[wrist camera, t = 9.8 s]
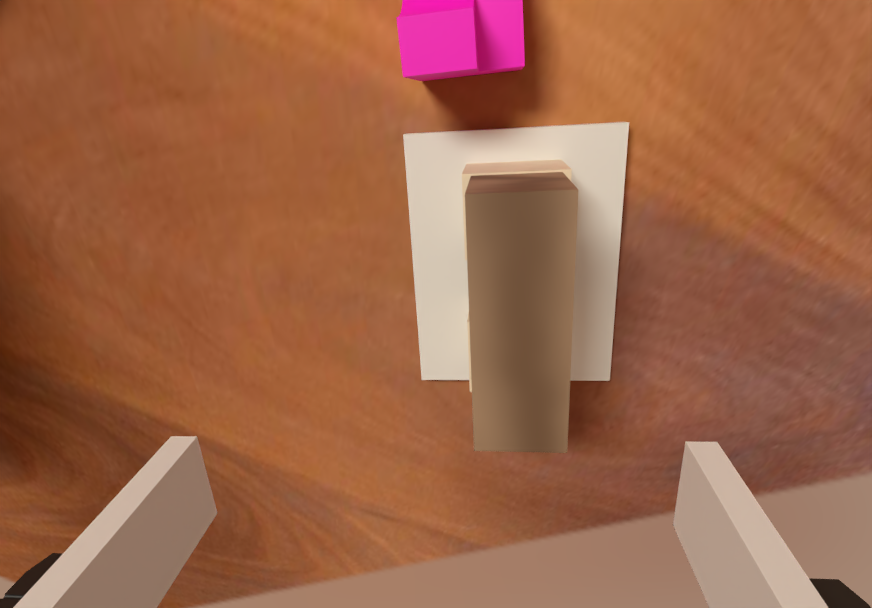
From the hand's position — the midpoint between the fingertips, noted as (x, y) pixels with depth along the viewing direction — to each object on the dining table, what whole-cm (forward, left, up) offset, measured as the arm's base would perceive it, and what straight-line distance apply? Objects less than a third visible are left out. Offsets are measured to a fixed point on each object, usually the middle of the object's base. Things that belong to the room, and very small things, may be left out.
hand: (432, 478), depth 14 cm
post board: (+3, -1, -24) cm, 24 cm away
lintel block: (+3, -1, -18) cm, 19 cm away
